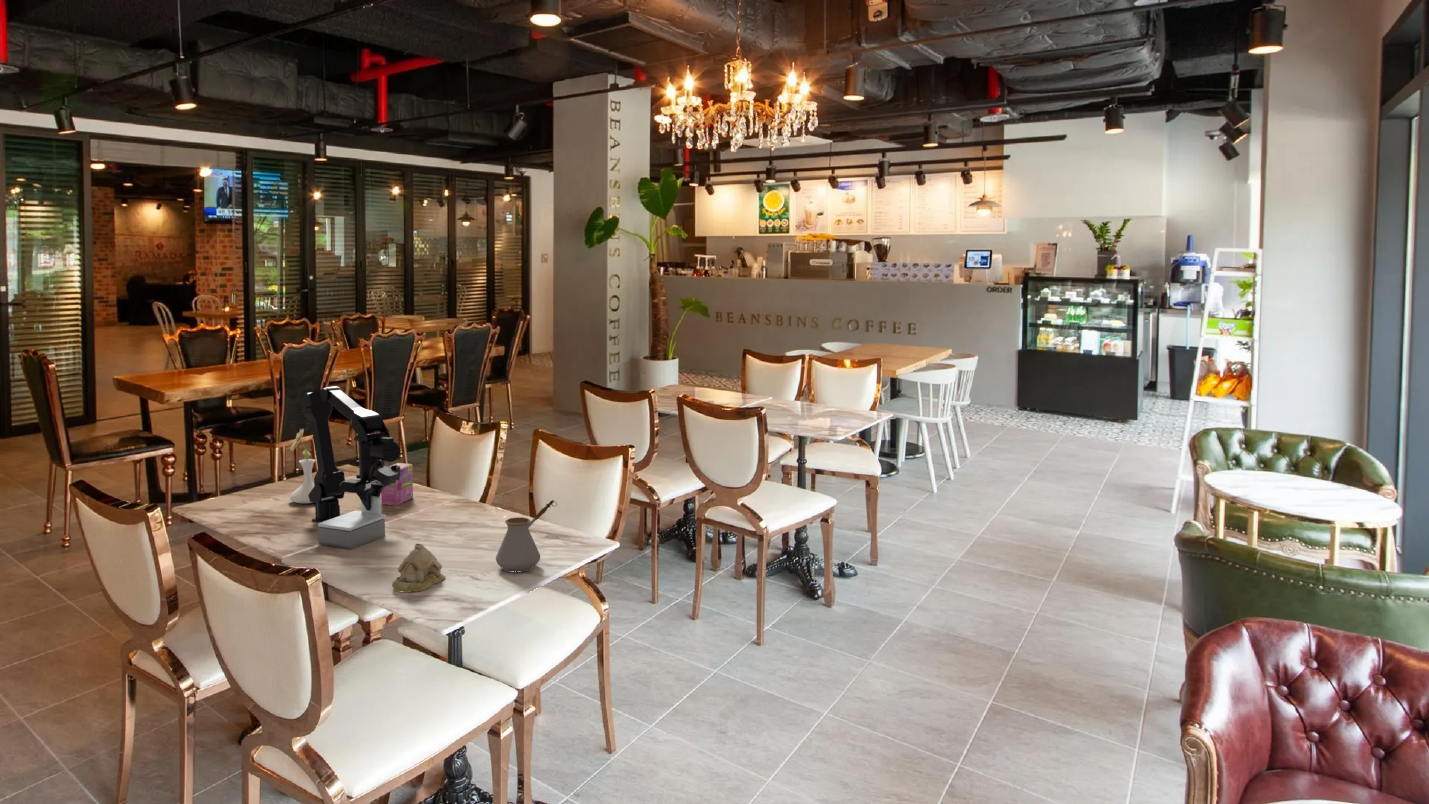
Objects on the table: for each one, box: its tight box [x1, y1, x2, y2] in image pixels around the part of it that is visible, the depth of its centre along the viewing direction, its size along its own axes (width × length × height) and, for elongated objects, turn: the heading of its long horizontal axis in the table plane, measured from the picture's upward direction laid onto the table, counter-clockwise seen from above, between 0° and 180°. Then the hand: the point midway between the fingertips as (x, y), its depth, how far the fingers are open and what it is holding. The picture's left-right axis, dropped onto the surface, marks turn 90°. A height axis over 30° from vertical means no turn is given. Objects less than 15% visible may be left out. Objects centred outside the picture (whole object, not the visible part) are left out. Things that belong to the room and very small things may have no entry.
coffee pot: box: [495, 499, 558, 573], centre depth 234 cm, size 21×12×15 cm, turn 153°
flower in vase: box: [289, 428, 317, 504], centre depth 286 cm, size 13×11×25 cm
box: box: [380, 462, 414, 506], centre depth 291 cm, size 10×6×12 cm, turn 168°
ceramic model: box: [391, 543, 446, 593], centre depth 218 cm, size 14×11×10 cm
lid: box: [317, 496, 387, 531], centre depth 250 cm, size 11×16×6 cm
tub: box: [317, 518, 386, 550], centre depth 250 cm, size 11×14×5 cm
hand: (371, 509), depth 257 cm, fingers open, 2 cm apart
